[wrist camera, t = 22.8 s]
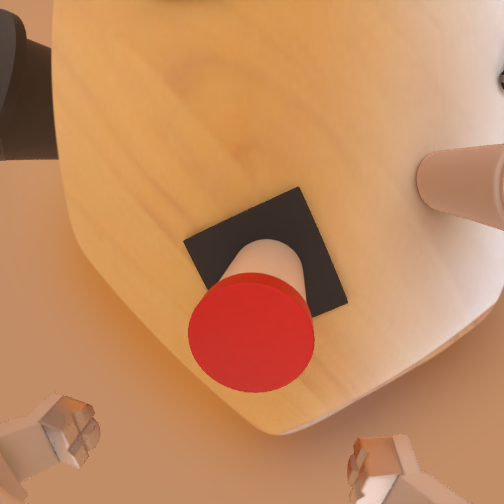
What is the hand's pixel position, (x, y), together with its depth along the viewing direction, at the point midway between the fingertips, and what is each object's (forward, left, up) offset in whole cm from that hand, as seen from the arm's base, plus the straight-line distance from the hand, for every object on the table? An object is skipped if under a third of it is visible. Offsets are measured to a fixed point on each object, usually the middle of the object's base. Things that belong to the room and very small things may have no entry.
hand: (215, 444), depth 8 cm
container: (0, 0, -12) cm, 12 cm away
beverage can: (+16, +1, -18) cm, 24 cm away
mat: (0, 0, -18) cm, 18 cm away
